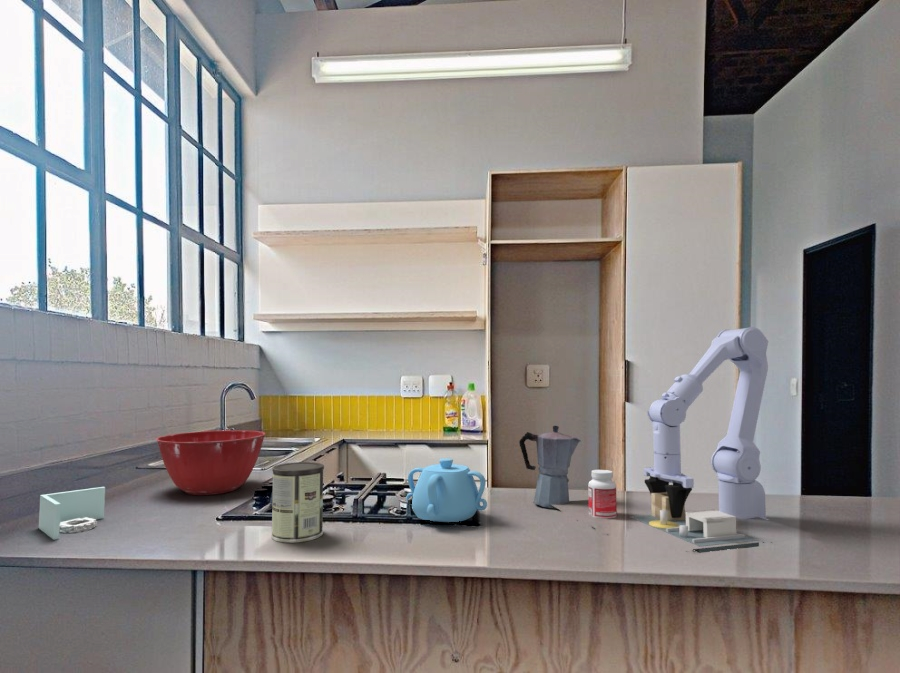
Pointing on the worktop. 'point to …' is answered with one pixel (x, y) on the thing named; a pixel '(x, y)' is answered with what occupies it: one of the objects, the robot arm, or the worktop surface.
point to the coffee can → (297, 502)
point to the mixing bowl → (210, 459)
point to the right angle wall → (71, 511)
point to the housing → (711, 522)
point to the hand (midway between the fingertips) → (668, 514)
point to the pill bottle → (602, 495)
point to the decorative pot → (446, 492)
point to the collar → (663, 506)
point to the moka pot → (551, 465)
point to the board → (695, 533)
